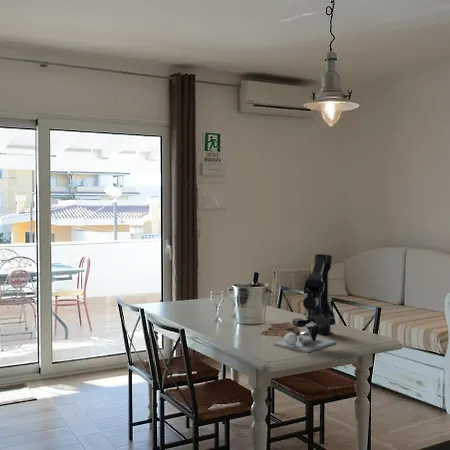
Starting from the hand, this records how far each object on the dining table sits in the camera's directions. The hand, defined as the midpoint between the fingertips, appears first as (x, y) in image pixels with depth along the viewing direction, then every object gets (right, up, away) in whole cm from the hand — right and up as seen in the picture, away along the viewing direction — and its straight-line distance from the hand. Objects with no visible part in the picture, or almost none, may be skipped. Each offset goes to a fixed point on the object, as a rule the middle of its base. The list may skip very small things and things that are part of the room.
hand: (313, 340), depth 247 cm
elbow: (-2, -1, +6) cm, 7 cm away
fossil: (-13, -2, +29) cm, 32 cm away
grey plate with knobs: (-3, -3, +6) cm, 7 cm away
